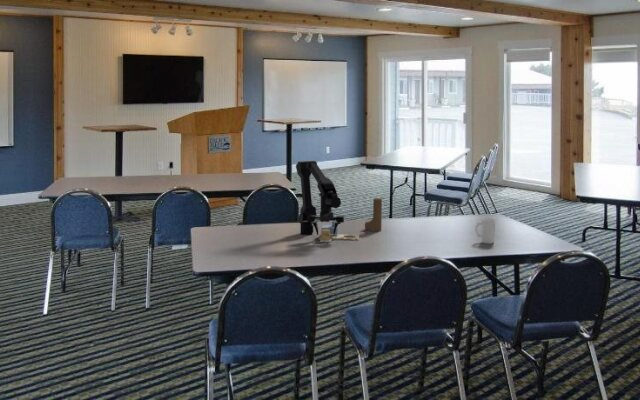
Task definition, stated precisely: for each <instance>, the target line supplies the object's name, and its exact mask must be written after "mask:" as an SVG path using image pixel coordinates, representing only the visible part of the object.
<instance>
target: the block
mask: <svg viewBox="0 0 640 400" xmlns="http://www.w3.org/2000/svg"><path fill="white" fill-rule="evenodd" d="M321 229H322V228H321ZM322 240H330V230H328V229H322Z"/></svg>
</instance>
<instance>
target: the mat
mask: <svg viewBox="0 0 640 400" xmlns="http://www.w3.org/2000/svg"><path fill="white" fill-rule="evenodd" d="M332 241H333V240H332V239H330V240H322V238H321V239H319V242H320V243H321V242H322V243H331V242H332Z"/></svg>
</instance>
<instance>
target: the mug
mask: <svg viewBox="0 0 640 400" xmlns="http://www.w3.org/2000/svg"><path fill="white" fill-rule="evenodd" d="M479 226H481V233H479V231H478V227H479ZM474 231H475V234H476V236H477V237H478V238H481V243H482V244H491V245H492V244H494V243H495V233H496V219H495V218H482V219H481V221H477V223H476V225H475V230H474Z"/></svg>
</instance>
